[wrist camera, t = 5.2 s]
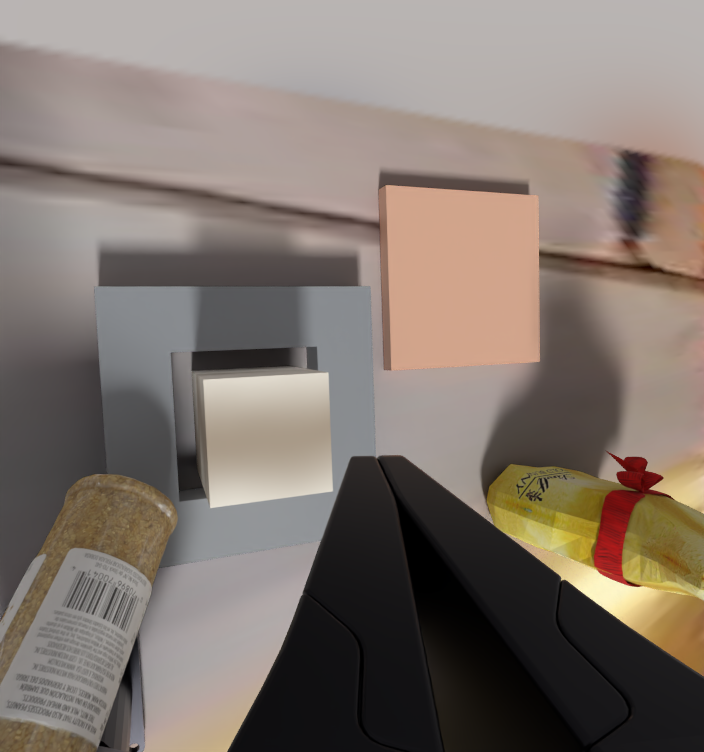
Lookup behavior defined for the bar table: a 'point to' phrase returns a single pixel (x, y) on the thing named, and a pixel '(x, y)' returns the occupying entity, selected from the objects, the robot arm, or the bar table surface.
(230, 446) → the cream block
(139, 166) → the bar table surface
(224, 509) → the collar
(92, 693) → the sprinkles bottle
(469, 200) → the terracotta tile
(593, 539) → the chocolate bunny
